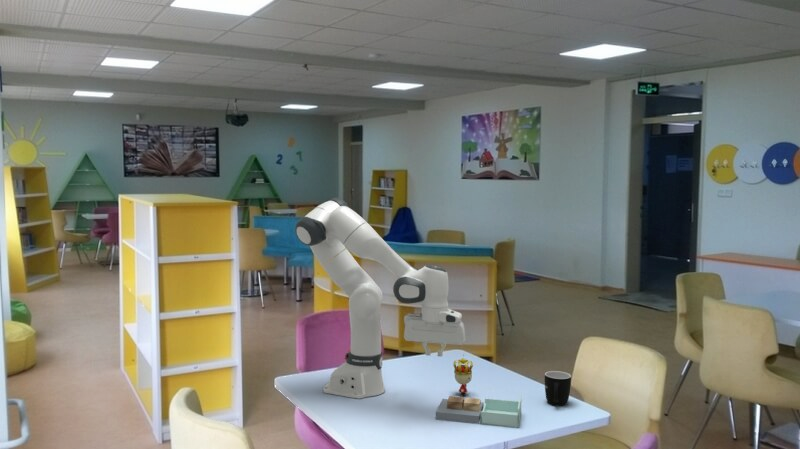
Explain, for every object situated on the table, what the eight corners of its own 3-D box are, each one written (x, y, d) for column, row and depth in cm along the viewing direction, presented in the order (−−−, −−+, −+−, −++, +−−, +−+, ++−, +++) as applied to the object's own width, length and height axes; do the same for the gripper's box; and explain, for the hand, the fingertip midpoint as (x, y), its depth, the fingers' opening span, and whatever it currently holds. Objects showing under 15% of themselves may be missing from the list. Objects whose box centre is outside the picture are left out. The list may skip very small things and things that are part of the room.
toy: (471, 399, 229) (472, 357, 228) (451, 397, 230) (452, 356, 229) (473, 392, 236) (474, 352, 235) (453, 391, 237) (454, 350, 236)
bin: (480, 423, 206) (480, 405, 205) (484, 409, 218) (485, 392, 218) (518, 427, 203) (519, 409, 202) (521, 413, 215) (521, 395, 215)
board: (435, 419, 209) (435, 411, 209) (442, 405, 222) (442, 398, 221) (478, 423, 206) (479, 416, 206) (483, 409, 218) (483, 402, 218)
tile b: (446, 408, 212) (447, 401, 212) (449, 403, 217) (449, 396, 217) (462, 409, 211) (462, 402, 211) (464, 404, 216) (464, 397, 215)
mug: (545, 397, 231) (545, 369, 231) (571, 400, 229) (571, 372, 228) (541, 408, 220) (542, 379, 219) (568, 412, 217) (569, 382, 216)
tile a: (463, 410, 211) (463, 402, 211) (465, 404, 216) (465, 397, 215) (478, 411, 210) (479, 404, 209) (480, 406, 214) (480, 399, 214)
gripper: (401, 314, 213) (401, 355, 214) (463, 318, 208) (462, 360, 209) (406, 310, 219) (405, 350, 220) (466, 314, 214) (465, 355, 215)
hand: (434, 355), depth 214 cm, fingers open, 3 cm apart
